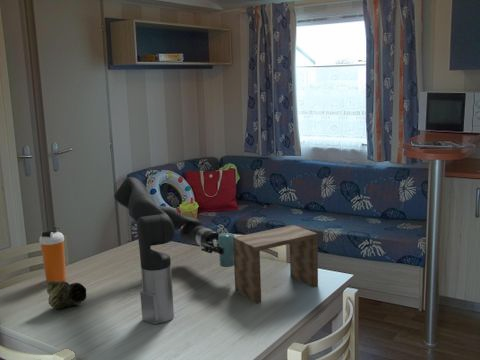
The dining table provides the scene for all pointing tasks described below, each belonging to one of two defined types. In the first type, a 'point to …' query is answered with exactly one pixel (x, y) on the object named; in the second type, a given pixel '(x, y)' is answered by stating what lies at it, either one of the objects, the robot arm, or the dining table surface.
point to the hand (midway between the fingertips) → (230, 250)
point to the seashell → (65, 294)
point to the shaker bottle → (53, 254)
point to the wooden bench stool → (251, 244)
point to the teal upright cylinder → (226, 249)
